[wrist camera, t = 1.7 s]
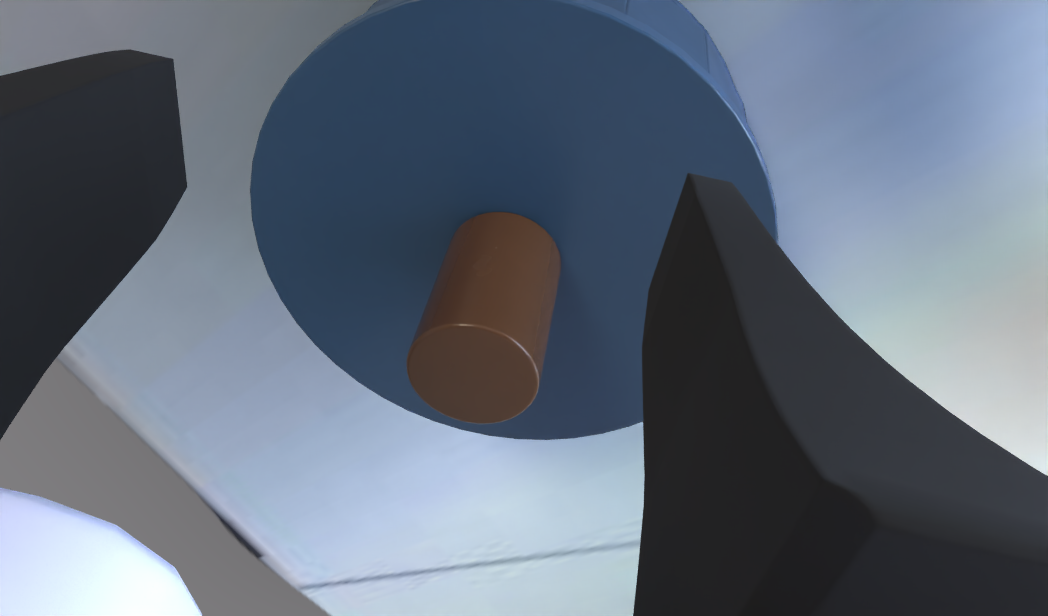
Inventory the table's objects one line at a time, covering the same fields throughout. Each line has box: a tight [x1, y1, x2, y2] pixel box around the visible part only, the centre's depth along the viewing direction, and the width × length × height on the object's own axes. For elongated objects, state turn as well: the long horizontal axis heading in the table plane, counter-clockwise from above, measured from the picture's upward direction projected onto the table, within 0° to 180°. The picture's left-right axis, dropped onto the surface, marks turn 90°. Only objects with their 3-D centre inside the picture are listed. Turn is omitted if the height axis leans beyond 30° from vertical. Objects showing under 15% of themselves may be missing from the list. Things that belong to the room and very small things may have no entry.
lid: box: [250, 0, 778, 440], centre depth 18 cm, size 12×12×5 cm
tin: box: [367, 0, 747, 123], centre depth 21 cm, size 11×11×4 cm
